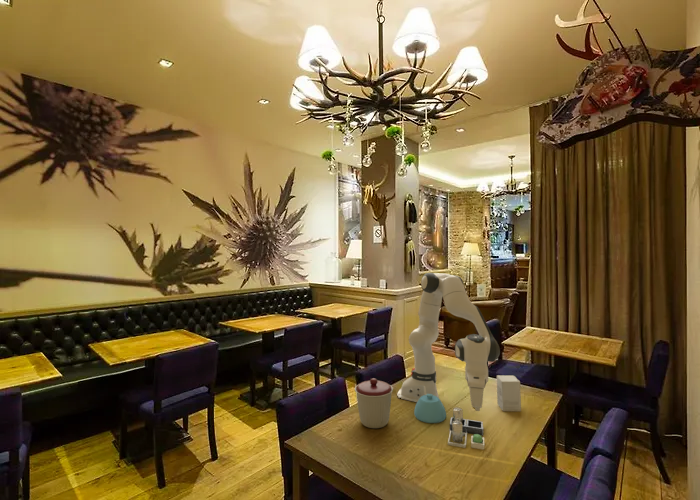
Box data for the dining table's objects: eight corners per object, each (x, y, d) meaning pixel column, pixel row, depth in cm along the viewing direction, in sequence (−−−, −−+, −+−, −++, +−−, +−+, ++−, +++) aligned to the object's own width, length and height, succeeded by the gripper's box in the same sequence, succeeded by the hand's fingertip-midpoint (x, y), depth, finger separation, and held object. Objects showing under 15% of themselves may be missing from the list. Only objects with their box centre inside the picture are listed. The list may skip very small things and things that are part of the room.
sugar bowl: (447, 427, 162) (446, 402, 161) (414, 424, 165) (413, 400, 164) (445, 412, 176) (444, 389, 176) (414, 410, 179) (414, 387, 179)
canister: (400, 419, 169) (399, 376, 169) (382, 437, 154) (381, 389, 154) (367, 411, 179) (366, 369, 179) (347, 426, 164) (346, 381, 164)
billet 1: (453, 428, 158) (452, 410, 158) (454, 424, 162) (453, 406, 162) (462, 430, 156) (462, 411, 156) (463, 425, 160) (462, 407, 160)
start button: (473, 444, 144) (473, 437, 144) (473, 439, 147) (473, 433, 147) (482, 445, 143) (482, 439, 143) (482, 441, 146) (482, 434, 146)
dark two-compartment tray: (449, 432, 157) (449, 424, 157) (451, 424, 164) (450, 416, 164) (483, 438, 152) (483, 429, 151) (483, 429, 159) (483, 421, 159)
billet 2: (452, 443, 147) (451, 424, 147) (453, 438, 151) (452, 419, 151) (462, 445, 146) (461, 425, 146) (462, 440, 150) (462, 421, 150)
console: (471, 450, 143) (470, 442, 143) (471, 442, 148) (471, 435, 148) (484, 452, 141) (484, 445, 141) (484, 444, 147) (484, 437, 147)
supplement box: (514, 403, 184) (514, 375, 184) (521, 411, 175) (520, 381, 175) (496, 403, 185) (496, 374, 185) (502, 411, 176) (501, 381, 176)
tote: (447, 447, 145) (447, 442, 145) (450, 435, 154) (450, 430, 154) (465, 450, 143) (465, 445, 143) (467, 438, 152) (466, 433, 152)
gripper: (469, 366, 155) (470, 398, 155) (467, 383, 136) (468, 419, 136) (484, 368, 153) (485, 400, 153) (484, 385, 134) (485, 422, 134)
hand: (477, 409), depth 145 cm, fingers closed
